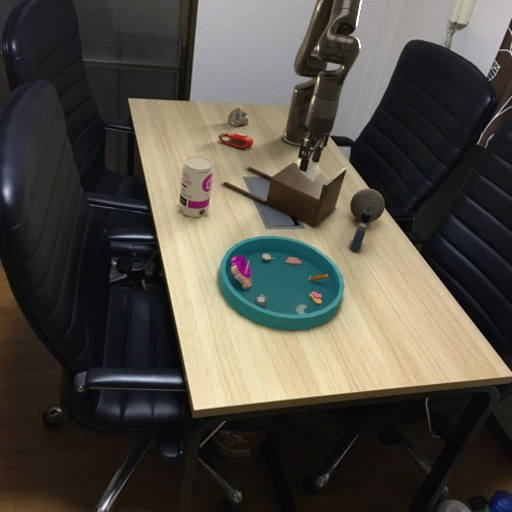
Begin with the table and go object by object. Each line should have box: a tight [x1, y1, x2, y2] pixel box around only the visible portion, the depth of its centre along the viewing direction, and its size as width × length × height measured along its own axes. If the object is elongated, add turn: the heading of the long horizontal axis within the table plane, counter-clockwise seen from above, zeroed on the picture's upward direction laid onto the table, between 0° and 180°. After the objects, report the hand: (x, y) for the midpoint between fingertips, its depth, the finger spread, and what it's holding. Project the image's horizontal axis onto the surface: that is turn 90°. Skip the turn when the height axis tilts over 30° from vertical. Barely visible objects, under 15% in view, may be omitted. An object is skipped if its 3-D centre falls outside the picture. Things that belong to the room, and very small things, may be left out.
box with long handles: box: [223, 162, 347, 228], centre depth 153 cm, size 15×32×14 cm, turn 58°
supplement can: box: [178, 155, 214, 218], centre depth 139 cm, size 8×8×15 cm
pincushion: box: [296, 155, 320, 181], centre depth 146 cm, size 12×6×6 cm, turn 12°
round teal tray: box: [218, 235, 345, 332], centre depth 122 cm, size 30×30×6 cm
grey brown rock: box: [227, 107, 249, 127], centre depth 192 cm, size 4×8×7 cm, turn 108°
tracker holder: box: [217, 132, 254, 150], centre depth 180 cm, size 12×4×10 cm
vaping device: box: [350, 208, 372, 253], centre depth 139 cm, size 3×5×12 cm, turn 161°
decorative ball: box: [349, 188, 385, 223], centre depth 151 cm, size 10×10×10 cm
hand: (309, 166), depth 146 cm, fingers closed on pincushion, 7 cm apart
